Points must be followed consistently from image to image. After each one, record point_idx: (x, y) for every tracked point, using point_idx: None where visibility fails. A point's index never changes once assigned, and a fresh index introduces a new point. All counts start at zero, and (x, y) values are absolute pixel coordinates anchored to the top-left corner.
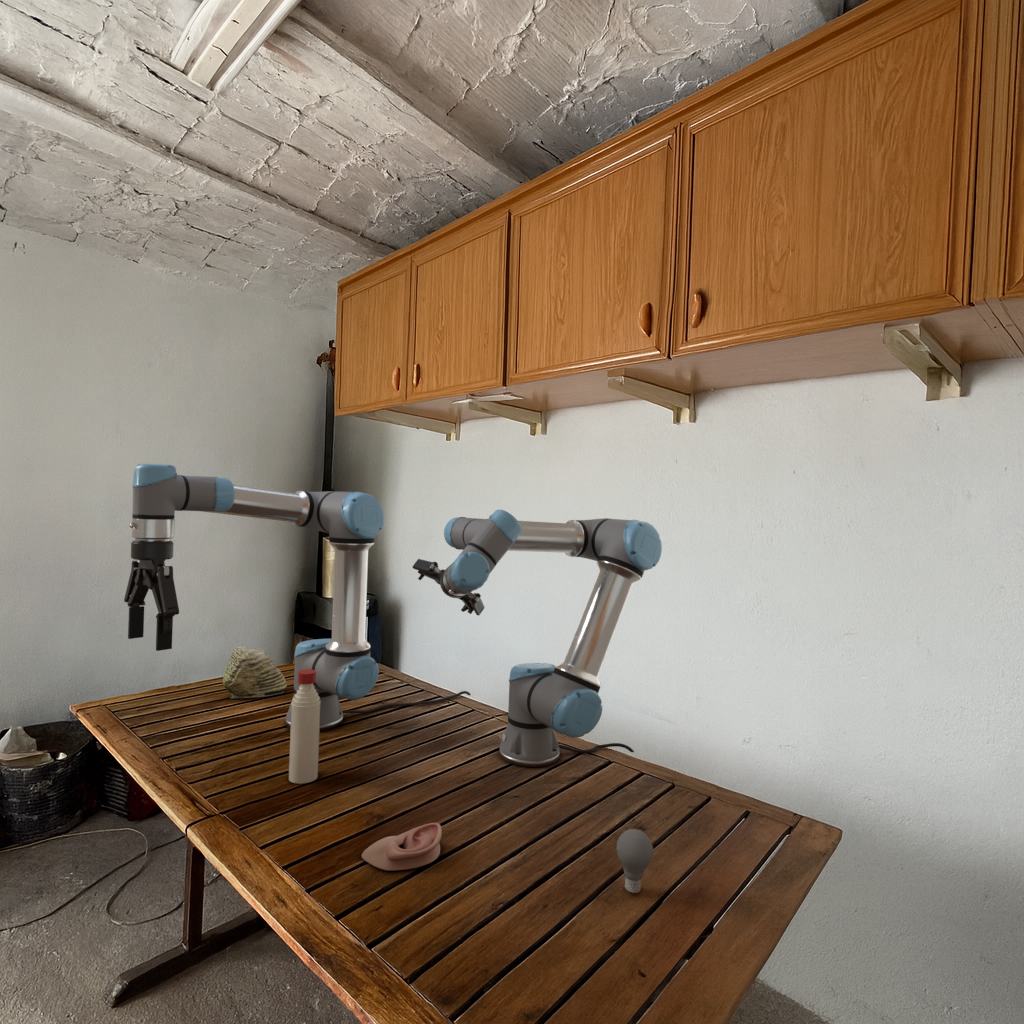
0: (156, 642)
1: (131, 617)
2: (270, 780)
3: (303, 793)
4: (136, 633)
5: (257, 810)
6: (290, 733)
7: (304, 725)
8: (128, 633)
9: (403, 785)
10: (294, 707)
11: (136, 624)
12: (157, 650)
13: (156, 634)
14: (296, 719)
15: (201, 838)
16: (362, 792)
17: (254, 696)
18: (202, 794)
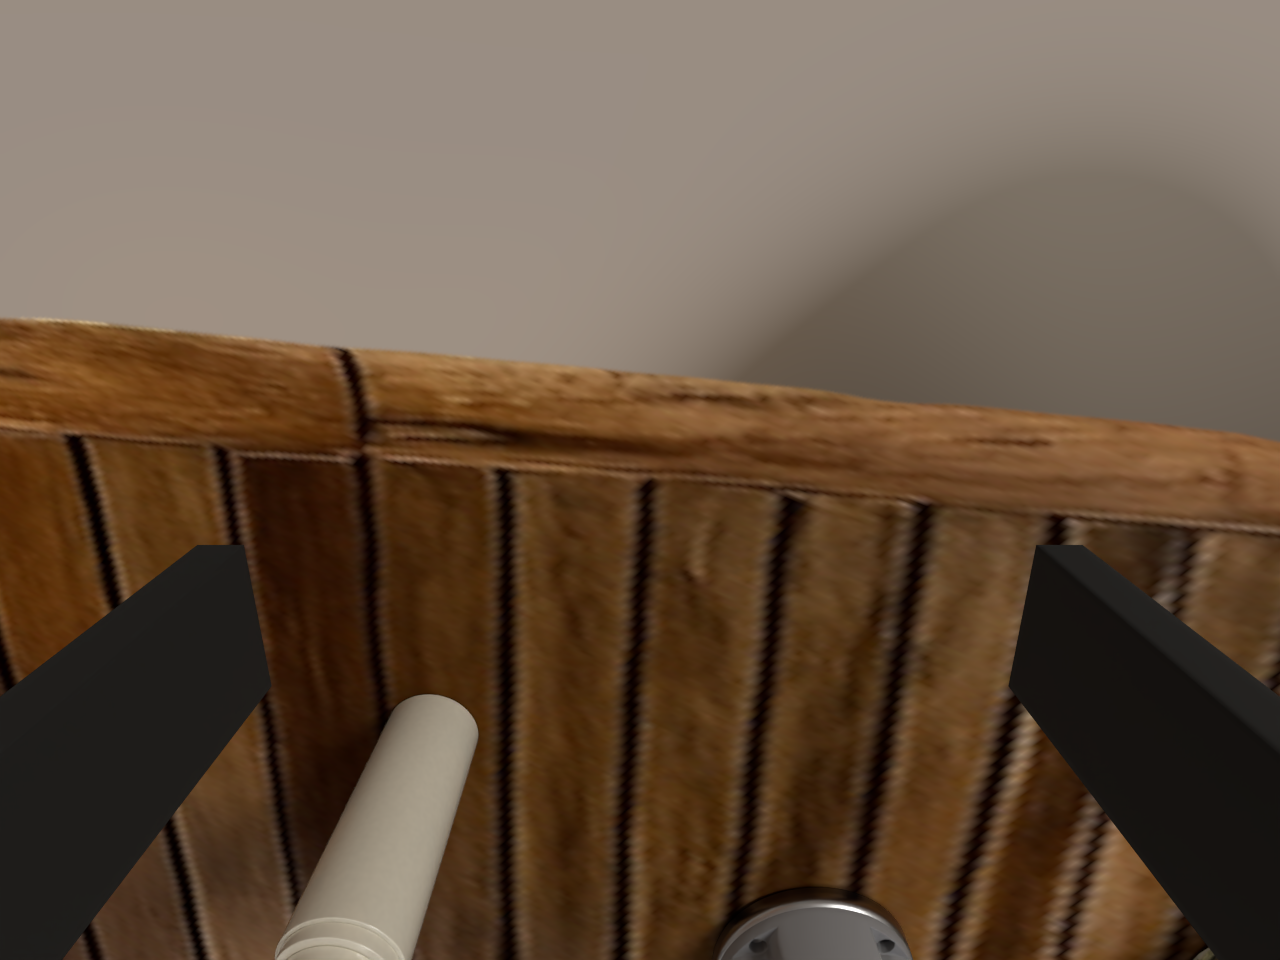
0: (178, 592)
1: (1238, 744)
2: (482, 660)
3: (328, 679)
4: (1053, 649)
5: (307, 538)
6: (399, 813)
7: (317, 864)
8: (1110, 575)
9: (196, 874)
10: (327, 909)
11: (1127, 725)
12: (197, 548)
13: (111, 651)
14: (335, 868)
15: (234, 342)
16: (226, 785)
17: (1202, 956)
18: (532, 474)
